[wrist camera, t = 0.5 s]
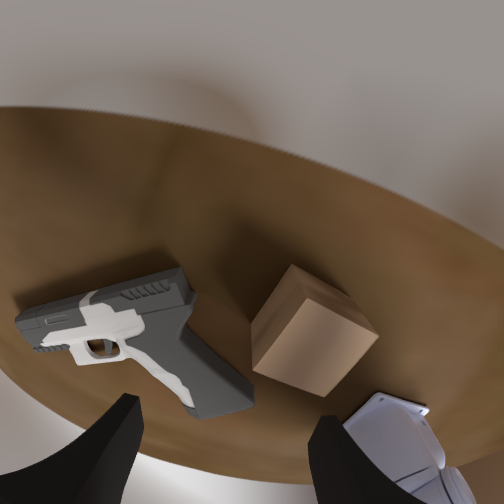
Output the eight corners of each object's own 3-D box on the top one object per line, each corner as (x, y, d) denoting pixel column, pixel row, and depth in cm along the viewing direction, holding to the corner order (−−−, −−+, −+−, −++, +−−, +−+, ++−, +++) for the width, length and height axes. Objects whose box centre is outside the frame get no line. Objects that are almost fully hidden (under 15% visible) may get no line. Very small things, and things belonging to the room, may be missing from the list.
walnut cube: (350, 297, 19) (379, 335, 14) (309, 350, 20) (324, 397, 15) (291, 262, 18) (307, 297, 13) (250, 323, 19) (252, 370, 14)
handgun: (257, 413, 19) (203, 270, 16) (78, 422, 20) (11, 319, 17) (257, 391, 21) (208, 256, 18) (87, 406, 22) (26, 306, 19)
